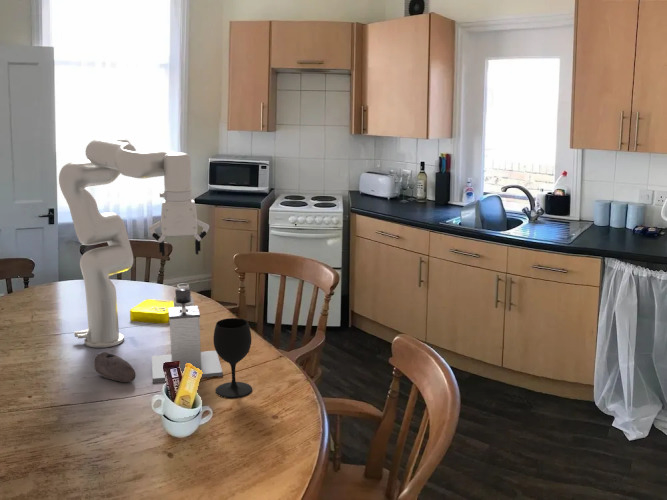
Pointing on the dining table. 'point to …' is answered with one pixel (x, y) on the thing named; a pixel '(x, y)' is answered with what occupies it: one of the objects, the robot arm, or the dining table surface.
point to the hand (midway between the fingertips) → (180, 254)
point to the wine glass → (232, 352)
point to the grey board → (208, 367)
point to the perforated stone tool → (114, 367)
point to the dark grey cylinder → (183, 297)
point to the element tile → (151, 311)
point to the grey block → (185, 335)
